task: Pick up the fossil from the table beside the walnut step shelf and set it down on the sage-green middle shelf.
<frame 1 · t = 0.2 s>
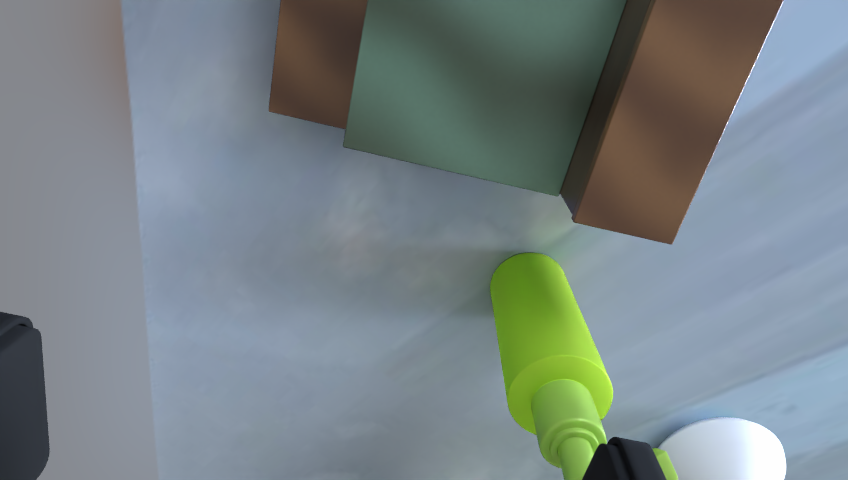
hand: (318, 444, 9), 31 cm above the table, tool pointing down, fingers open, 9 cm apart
step shelf: (475, 44, 36), on the table
flower in vase: (714, 455, 50), on the table
soap dispenser: (533, 282, 43), on the table
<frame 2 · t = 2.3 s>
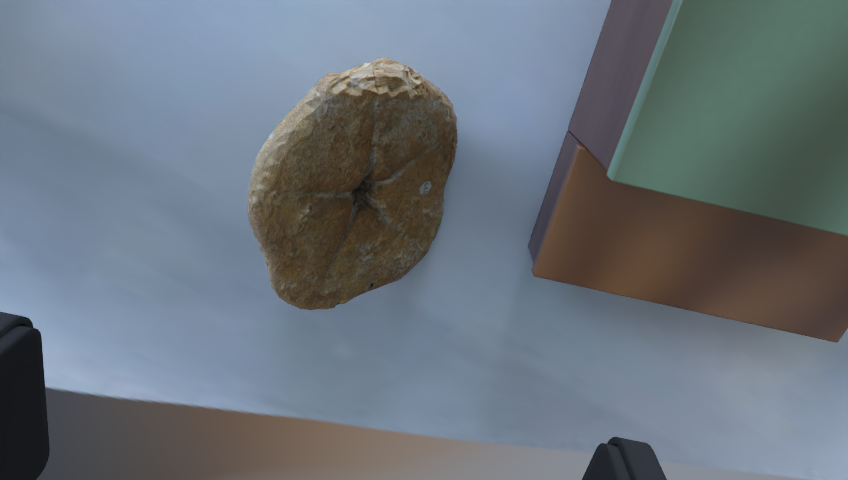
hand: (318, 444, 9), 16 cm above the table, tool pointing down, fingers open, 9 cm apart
step shelf: (790, 1, 21), on the table
fossil: (374, 166, 24), on the table
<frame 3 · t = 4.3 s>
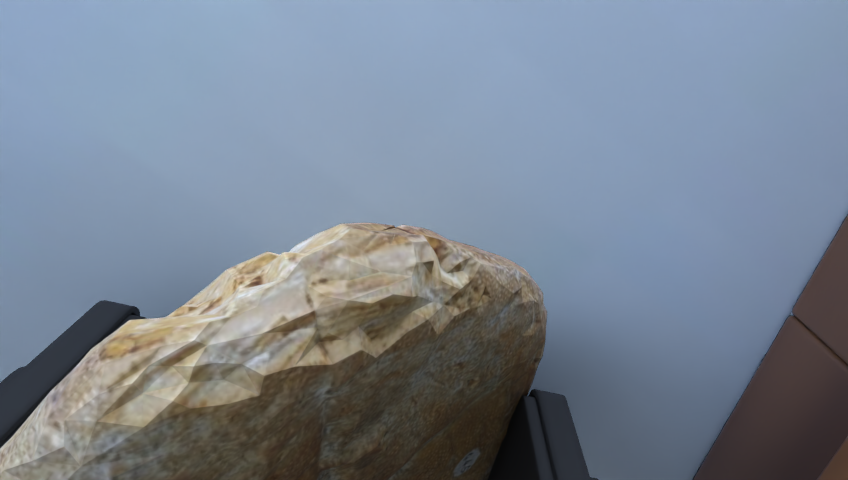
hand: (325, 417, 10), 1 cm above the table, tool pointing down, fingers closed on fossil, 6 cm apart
fossil: (351, 373, 11), on the table, touching gripper
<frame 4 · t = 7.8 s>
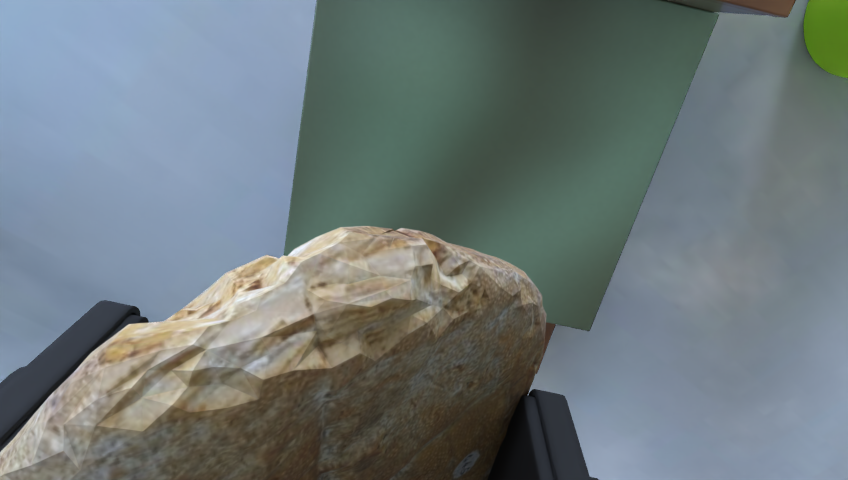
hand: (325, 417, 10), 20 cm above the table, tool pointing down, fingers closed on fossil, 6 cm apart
step shelf: (469, 116, 27), on the table
fossil: (351, 375, 11), point 18 cm above the table, touching gripper
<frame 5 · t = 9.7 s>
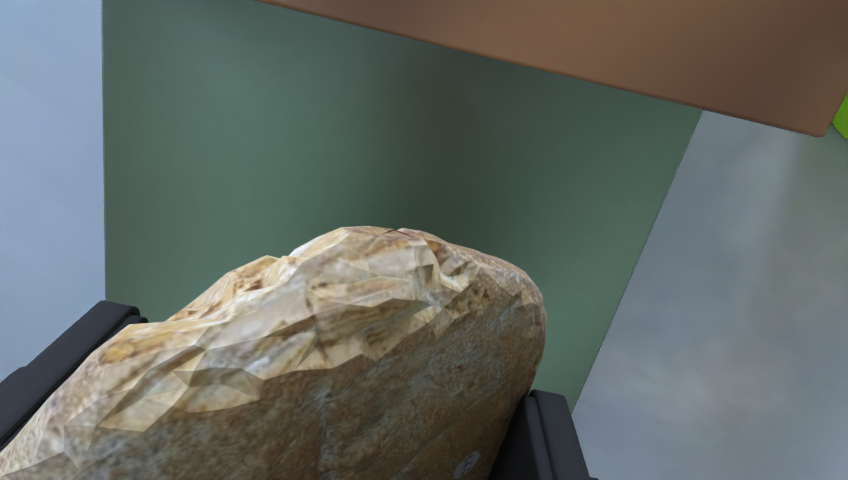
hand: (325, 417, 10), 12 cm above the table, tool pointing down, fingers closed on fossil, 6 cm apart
step shelf: (386, 195, 21), on the table
fossil: (351, 375, 11), point 11 cm above the table, touching gripper
when the fingers open (8 cm above the table, at t = 11.2 s): fossil stays where it is, resting on step shelf.
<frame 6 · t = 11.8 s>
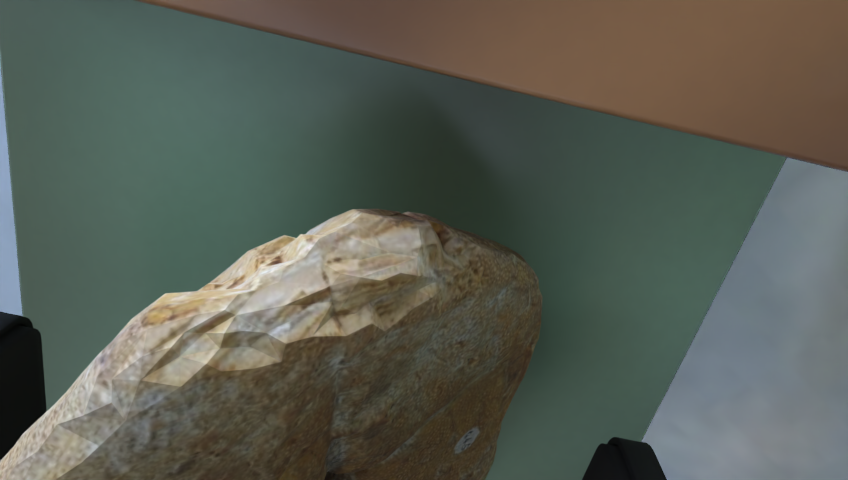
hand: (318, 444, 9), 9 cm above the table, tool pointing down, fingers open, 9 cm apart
step shelf: (381, 229, 18), on the table
fossil: (356, 359, 12), point 7 cm above the table, touching step shelf
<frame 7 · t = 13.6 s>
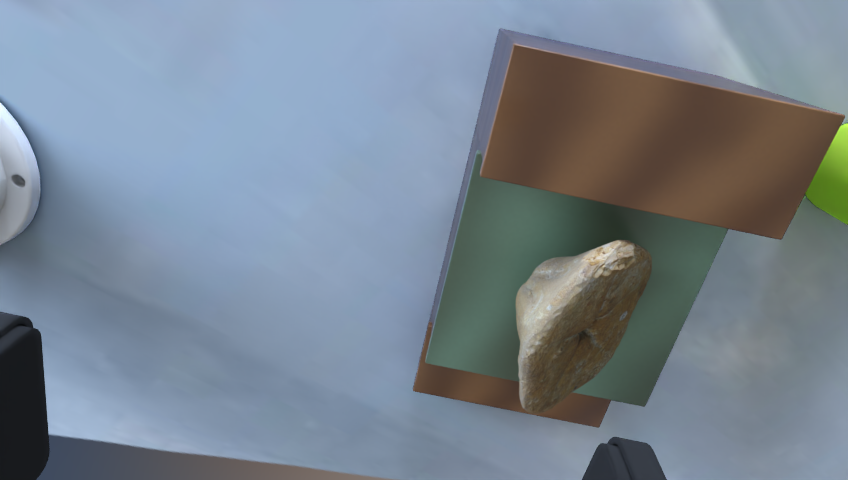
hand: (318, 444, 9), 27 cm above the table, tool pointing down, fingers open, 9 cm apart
step shelf: (549, 239, 36), on the table
fossil: (571, 292, 30), point 7 cm above the table, touching step shelf
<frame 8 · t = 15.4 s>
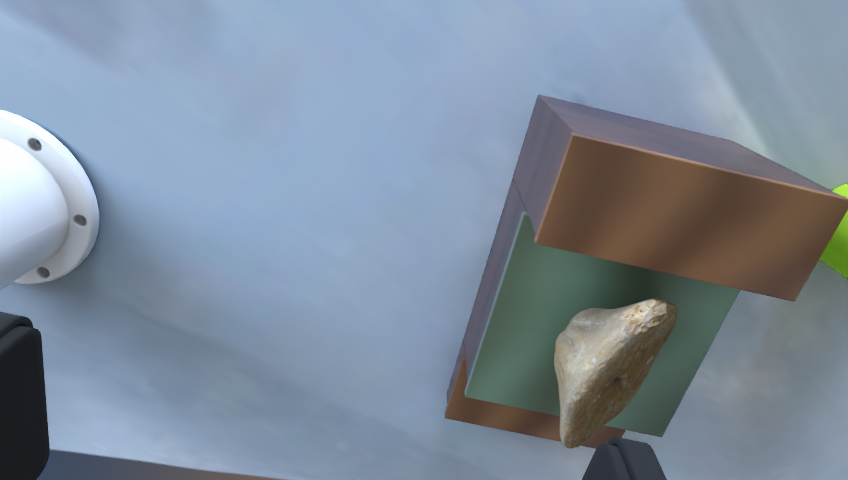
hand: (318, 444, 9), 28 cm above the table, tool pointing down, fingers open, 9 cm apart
step shelf: (574, 281, 40), on the table
fossil: (601, 336, 33), point 7 cm above the table, touching step shelf
soap dispenser: (845, 215, 37), on the table
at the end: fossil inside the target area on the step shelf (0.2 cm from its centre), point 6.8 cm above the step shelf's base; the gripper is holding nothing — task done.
